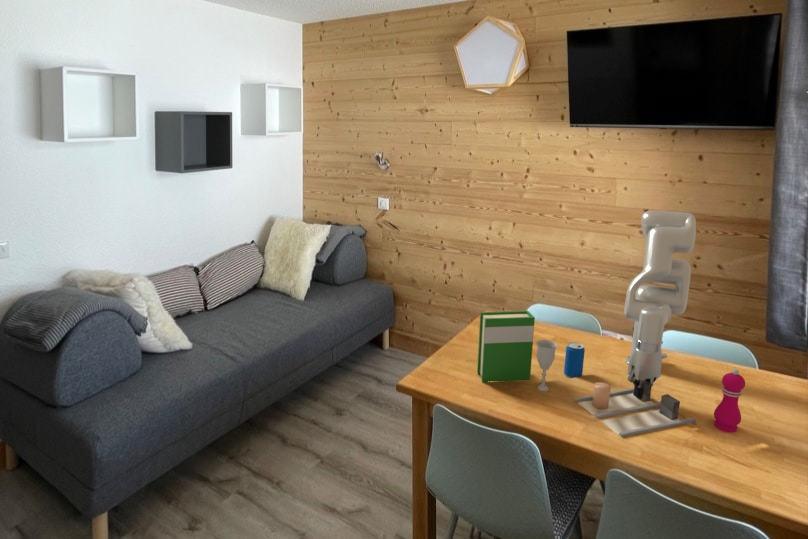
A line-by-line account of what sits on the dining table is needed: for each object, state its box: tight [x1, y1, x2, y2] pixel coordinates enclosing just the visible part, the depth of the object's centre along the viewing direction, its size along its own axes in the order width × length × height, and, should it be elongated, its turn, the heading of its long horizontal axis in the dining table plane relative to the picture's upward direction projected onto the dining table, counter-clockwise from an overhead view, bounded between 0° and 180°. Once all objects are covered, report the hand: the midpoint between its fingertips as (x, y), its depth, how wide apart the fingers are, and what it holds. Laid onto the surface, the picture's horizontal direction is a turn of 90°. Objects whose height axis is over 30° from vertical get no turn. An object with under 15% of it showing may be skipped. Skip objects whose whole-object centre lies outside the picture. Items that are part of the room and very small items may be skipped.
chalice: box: [536, 339, 558, 392], centre depth 189 cm, size 7×7×18 cm
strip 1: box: [577, 379, 654, 416], centre depth 181 cm, size 24×8×7 cm, turn 109°
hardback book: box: [476, 310, 536, 383], centre depth 199 cm, size 18×7×24 cm, turn 97°
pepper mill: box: [713, 368, 746, 434], centre depth 166 cm, size 7×7×20 cm
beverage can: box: [563, 341, 586, 379], centre depth 202 cm, size 6×6×12 cm
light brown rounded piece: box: [592, 381, 611, 409], centre depth 179 cm, size 5×5×7 cm
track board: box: [573, 387, 697, 438], centre depth 177 cm, size 28×24×2 cm
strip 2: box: [600, 393, 681, 436], centre depth 170 cm, size 24×8×7 cm, turn 109°
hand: (641, 396), depth 185 cm, fingers closed on strip 1, 2 cm apart
